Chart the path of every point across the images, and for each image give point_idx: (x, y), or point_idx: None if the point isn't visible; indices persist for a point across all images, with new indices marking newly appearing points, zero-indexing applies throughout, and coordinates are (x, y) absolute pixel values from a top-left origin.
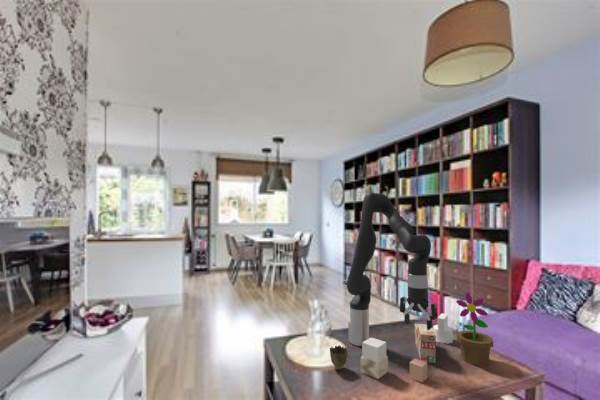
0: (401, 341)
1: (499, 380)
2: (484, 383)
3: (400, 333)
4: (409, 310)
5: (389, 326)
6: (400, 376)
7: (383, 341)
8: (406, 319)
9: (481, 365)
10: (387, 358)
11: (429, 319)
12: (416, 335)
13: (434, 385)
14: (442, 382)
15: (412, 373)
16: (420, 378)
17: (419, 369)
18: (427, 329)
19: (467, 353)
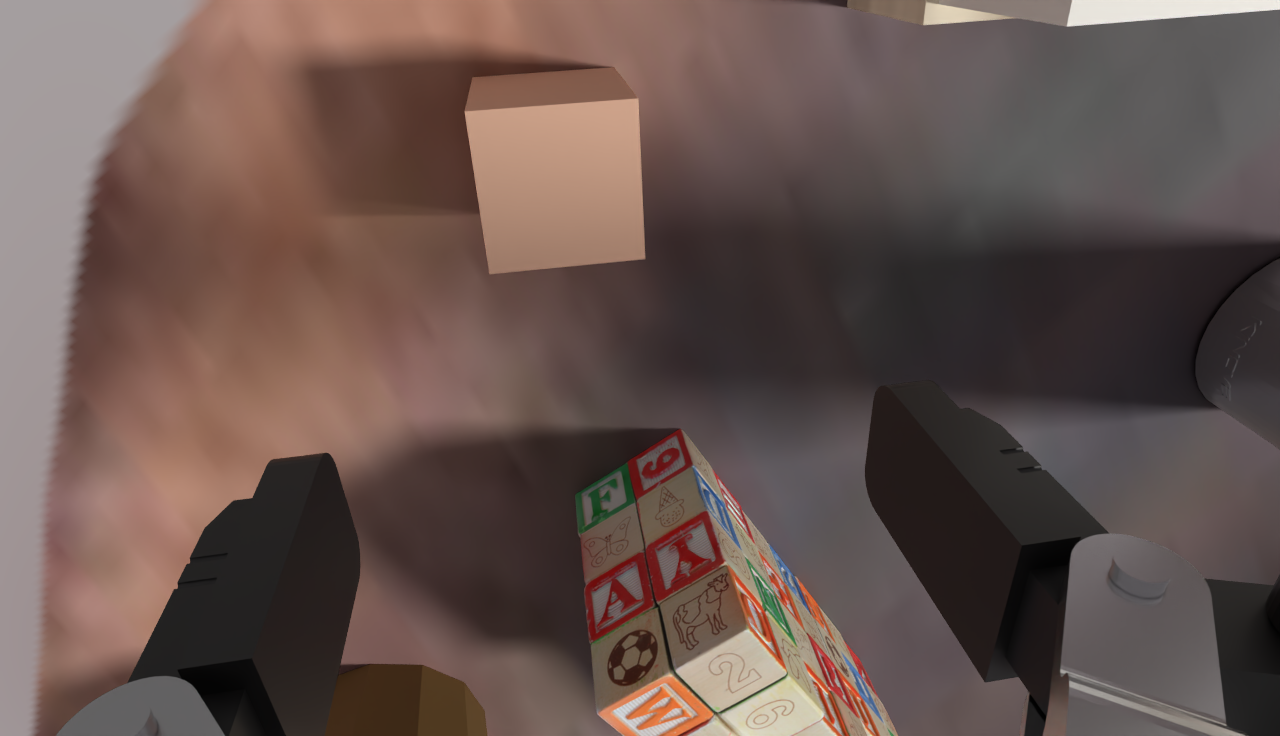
0: None
1: (86, 612)
2: (117, 494)
3: (1004, 689)
4: (1070, 730)
5: None
6: (697, 13)
7: (1115, 13)
8: (970, 449)
9: None
10: (915, 12)
11: (96, 721)
12: (853, 684)
13: (358, 122)
14: (345, 239)
15: (586, 80)
16: (491, 83)
17: (500, 99)
18: (314, 455)
19: (388, 731)
